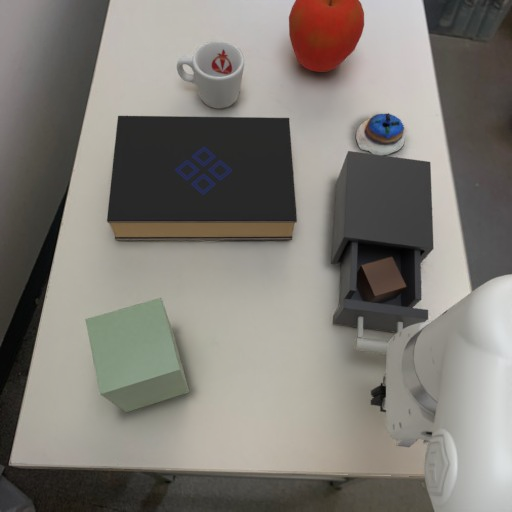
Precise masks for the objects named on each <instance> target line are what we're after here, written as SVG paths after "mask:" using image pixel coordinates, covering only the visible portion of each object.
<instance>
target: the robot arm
mask: <svg viewBox="0 0 512 512" xmlns="http://www.w3.org/2000/svg"><path fill="white" fill-rule="evenodd" d="M387 342H388V347H387V354H386V361H385V362H386V363H385V364H386V368H385V369H386V370H385V374H384V375H383V377H382V382H380V384H379V385H378V386H376V387H374V388H373V389H371V390H370V396H371V397H372V398H371V399H370V405H371V406H375V407H379V409H380V410H379V411H380V412H381V413H385V425H386V426H385V427H386V433H387V434H388V435H389V437H390V438H391V439H392V440H394V441H395V442H394V443H395V446H396V447H403V448H411V447H412V445H414V444H415V443H416V442H417V441H418V440H422V441H423V443H422V444H423V445H427V446H426V450H425V455H424V462H423V463H424V464H423V475H424V483H425V488H426V491H427V494H428V497H429V498H430V502H431V505H432V509H433V511H434V512H512V273H510V274H503V275H499V276H496V277H493V278H491V279H489V280H488V281H486V282H484V283H482V284H481V285H478V287H476V288H475V289H474V290H472V291H471V292H470V293H468V294H467V295H466V296H464V297H463V298H461V299H460V300H459V301H457V302H456V303H454V304H453V305H452V306H451V307H449V308H448V309H446V310H445V311H444V312H443V313H440V315H439V316H437V317H436V318H434V319H433V320H427V321H425V322H421V323H417V324H413V325H410V326H408V327H406V328H404V329H402V330H400V331H399V332H395V333H394V335H392V336H391V338H390V339H389V340H388V341H387Z"/></svg>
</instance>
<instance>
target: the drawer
mask: <svg viewBox="0 0 512 512" xmlns="http://www.w3.org/2000/svg"><path fill="white" fill-rule="evenodd" d="M391 256H392V257H393V259H394V261H395V263H396V265H397V267H398V269H399V272H400V274H401V276H402V278H403V280H404V282H405V284H406V286H407V287H406V288H405V289H404V290H403V291H402V292H401V293H400V294H399V295H398V297H397V298H396V299H392V300H389V301H386V302H383V303H372V302H364V301H363V300H362V297H361V295H360V293H359V290H358V288H357V286H356V282H357V271H358V270H359V268H360V267H361V265H364V264H367V263H371V262H374V261H378V260H381V259H385V258H388V257H391ZM421 300H422V262H421V257H420V250H418V249H410V248H402V247H395V246H387V245H380V244H372V243H365V242H357V241H350V240H348V242H347V244H346V246H345V248H344V250H343V252H342V262H341V265H340V285H339V304H338V308H337V309H336V311H335V312H334V314H333V316H332V325H336V326H345V327H346V326H347V327H351V328H357V331H356V337H355V339H354V345H353V347H354V350H355V351H361V352H368V353H375V354H376V353H377V354H385V355H387V347H388V342H389V341H385V340H378V339H371V338H364V329H368V330H375V331H384V332H390V333H397V332H399V331H400V330H402V329H404V328H406V327H408V326H410V325H413V324H417V323H421V322H426V321H429V309H423V308H417V307H415V306H416V305H418V303H420V302H421Z"/></svg>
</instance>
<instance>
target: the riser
mask: <svg viewBox="0 0 512 512" xmlns="http://www.w3.org/2000/svg"><path fill="white" fill-rule="evenodd" d="M85 324H86V330H87V335H88V339H89V345H90V350H91V355H92V360H93V365H94V370H95V376H96V380H97V385H98V390H99V395H100V396H102V397H103V398H105V399H106V400H108V401H109V402H111V404H113V405H115V406H117V407H118V408H119V409H121V410H122V411H123V412H125V413H129V412H133V411H135V410H138V409H141V408H144V407H148V406H152V405H154V404H157V403H160V402H163V401H166V400H170V399H173V398H176V397H179V396H182V395H185V394H188V393H190V390H189V385H188V382H187V377H186V375H185V371H184V367H183V364H182V363H183V362H182V359H181V356H180V351H179V347H178V344H177V341H176V340H177V339H176V337H175V334H174V329H173V327H172V325H171V322H170V319H169V316H168V313H167V311H166V308H165V305H164V302H163V299H162V297H159V298H156V299H152V300H148V301H145V302H141V303H138V304H134V305H130V306H127V307H123V308H119V309H117V310H112V311H109V312H106V313H102V314H99V315H95V316H91V317H88V318H85Z"/></svg>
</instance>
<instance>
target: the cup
mask: <svg viewBox="0 0 512 512" xmlns="http://www.w3.org/2000/svg"><path fill="white" fill-rule="evenodd" d="M184 65H185V66H188V67H190V69H191V70H192V74H189V73H188V72H186V71H185V69H184V67H183V66H184ZM244 68H245V57H244V53H243V51H241V49H240V48H239V47H238V46H236V45H235V44H233V43H231V42H228V41H225V40H224V41H223V40H212V41H208V42H205V43H202V44H200V45H199V47H197V48H196V49H195V51H194V53H193V54H192V55H182V56H181V57H179V58H178V60H177V62H176V71H177V74H178V76H179V77H180V79H182V80H183V81H184V82H187V83H192V84H195V85H196V87H197V91H198V95H199V97H200V99H201V101H202V102H204V104H205V105H206V106H208V107H211V108H213V109H226V108H228V107H230V106H232V105H233V104H235V102H236V101H237V100H238V97H239V95H240V91H241V85H242V80H243V73H244Z"/></svg>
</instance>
